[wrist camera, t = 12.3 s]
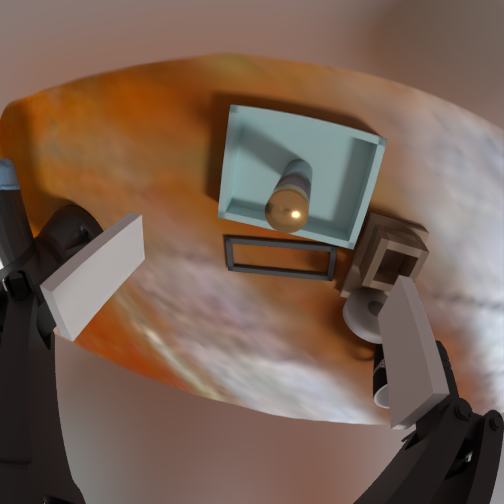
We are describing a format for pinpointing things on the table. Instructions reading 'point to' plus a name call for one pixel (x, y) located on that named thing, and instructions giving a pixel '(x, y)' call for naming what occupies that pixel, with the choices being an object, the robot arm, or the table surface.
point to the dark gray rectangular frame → (282, 245)
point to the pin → (290, 198)
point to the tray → (312, 151)
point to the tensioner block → (380, 270)
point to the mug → (380, 379)
